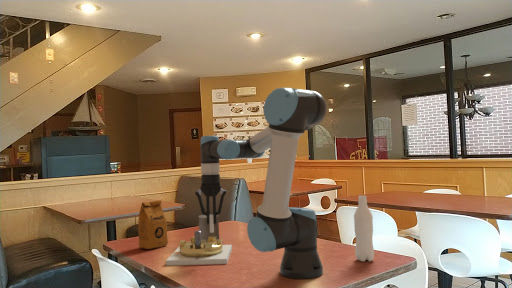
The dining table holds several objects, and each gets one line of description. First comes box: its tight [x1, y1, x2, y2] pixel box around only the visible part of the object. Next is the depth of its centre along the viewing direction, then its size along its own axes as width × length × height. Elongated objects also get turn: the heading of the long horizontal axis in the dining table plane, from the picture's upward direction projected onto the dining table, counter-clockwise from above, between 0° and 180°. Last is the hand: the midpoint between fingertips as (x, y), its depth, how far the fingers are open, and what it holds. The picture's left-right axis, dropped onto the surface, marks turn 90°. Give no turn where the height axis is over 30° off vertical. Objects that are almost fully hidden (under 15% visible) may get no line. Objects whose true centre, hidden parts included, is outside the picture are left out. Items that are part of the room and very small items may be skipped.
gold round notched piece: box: [179, 230, 223, 257], centre depth 169 cm, size 18×18×10 cm
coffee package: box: [137, 199, 169, 250], centre depth 190 cm, size 10×12×22 cm
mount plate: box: [165, 244, 233, 267], centre depth 169 cm, size 24×24×2 cm
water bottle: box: [353, 195, 375, 262], centre depth 156 cm, size 7×7×25 cm
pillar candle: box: [198, 213, 220, 240], centre depth 193 cm, size 10×10×15 cm
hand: (211, 231), depth 162 cm, fingers closed
